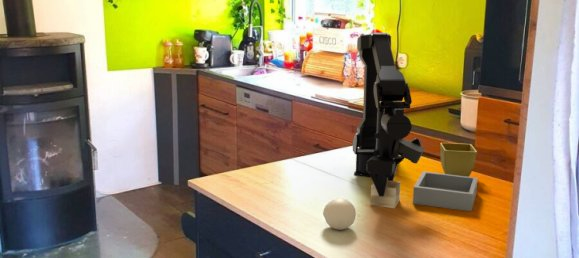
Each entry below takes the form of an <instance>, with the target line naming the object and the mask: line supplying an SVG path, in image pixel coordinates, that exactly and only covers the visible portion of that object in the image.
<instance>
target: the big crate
mask: <svg viewBox="0 0 579 258" xmlns="http://www.w3.org/2000/svg"><path fill="white" fill-rule="evenodd" d="M477 188H478V177H473V176H469V177H467V176H458V175H449V174H445V173H440V172H439V173H438V172H430V171H424V170H423V171H422V172H421V174H420V176H419V177H418V179H417V181H416V183H415V184H414V186H413V192H412V193H413V194H412V196H413V197H412V204H414V205H422V206H430V207H435V208H443V209H451V210H452V209H453V210H456V211H457V210H458V211H466V212H472V211H473V207H474V203H475V200H476V197H477V196H476V195H477V191H478V190H477Z"/></svg>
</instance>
